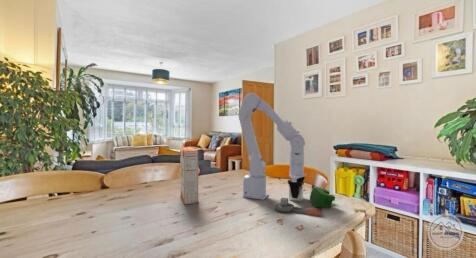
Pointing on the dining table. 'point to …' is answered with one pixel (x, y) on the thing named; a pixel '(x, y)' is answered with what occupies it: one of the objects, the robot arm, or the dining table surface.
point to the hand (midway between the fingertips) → (296, 195)
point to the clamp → (321, 197)
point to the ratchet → (295, 208)
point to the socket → (298, 195)
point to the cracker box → (189, 175)
